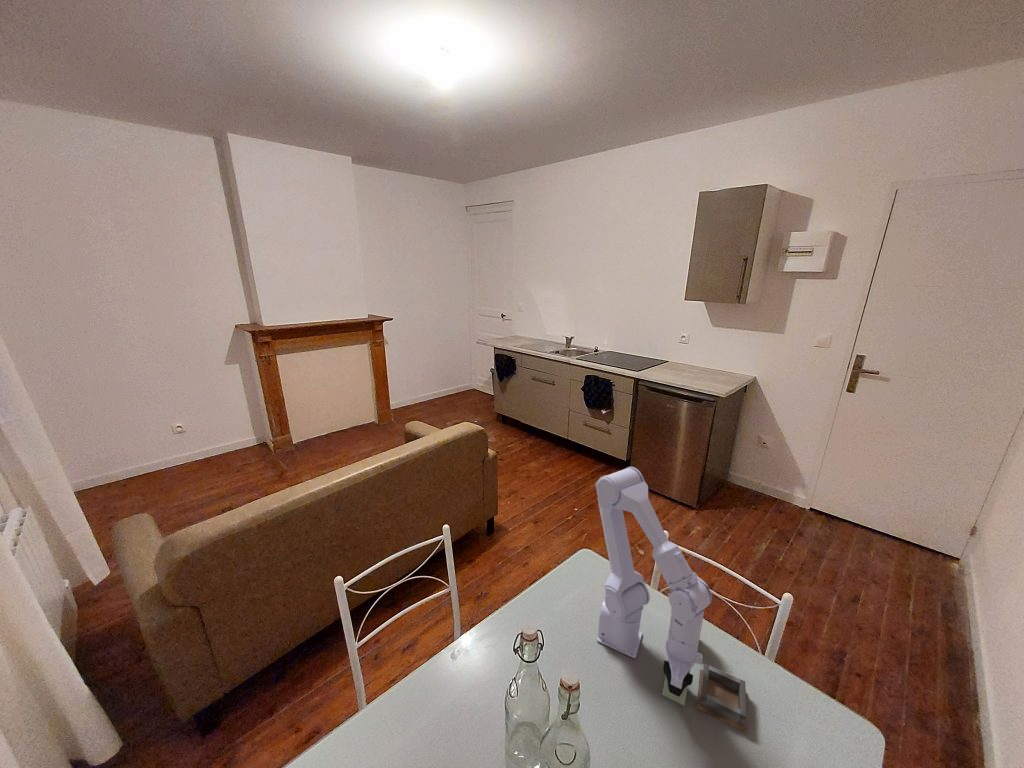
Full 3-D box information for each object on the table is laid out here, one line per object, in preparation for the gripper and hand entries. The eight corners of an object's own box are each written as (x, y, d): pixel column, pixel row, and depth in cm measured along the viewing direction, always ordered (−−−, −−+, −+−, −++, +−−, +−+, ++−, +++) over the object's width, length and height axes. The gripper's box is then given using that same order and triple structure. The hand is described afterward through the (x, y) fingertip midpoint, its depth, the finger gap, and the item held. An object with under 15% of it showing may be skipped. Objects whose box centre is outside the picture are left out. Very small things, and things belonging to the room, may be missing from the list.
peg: (662, 694, 83) (666, 666, 81) (665, 677, 87) (669, 649, 85) (684, 705, 81) (689, 676, 79) (686, 687, 85) (691, 659, 83)
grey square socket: (696, 708, 80) (698, 696, 80) (699, 671, 88) (701, 660, 87) (746, 732, 76) (749, 720, 75) (745, 692, 84) (747, 680, 83)
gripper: (702, 672, 72) (692, 725, 75) (707, 615, 84) (698, 663, 87) (663, 654, 75) (655, 706, 79) (673, 602, 87) (666, 649, 91)
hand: (675, 682), depth 83 cm, fingers closed on peg, 4 cm apart
